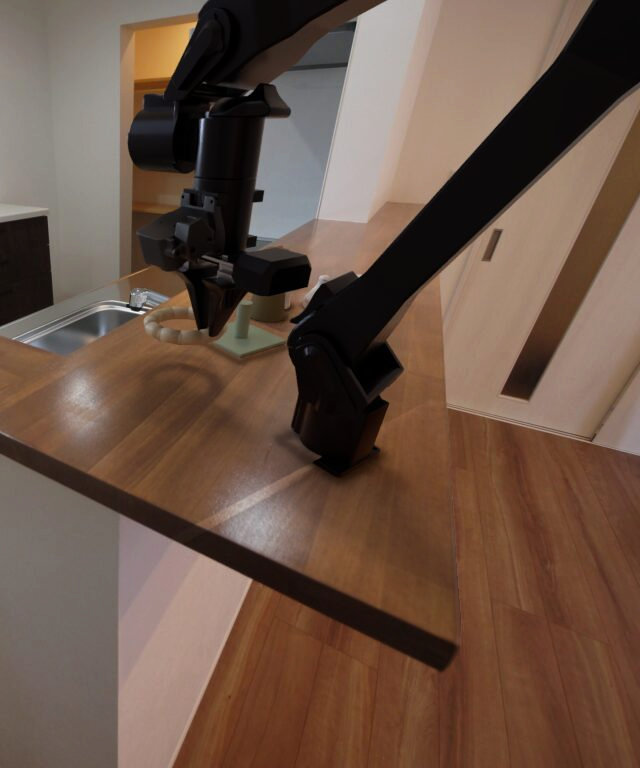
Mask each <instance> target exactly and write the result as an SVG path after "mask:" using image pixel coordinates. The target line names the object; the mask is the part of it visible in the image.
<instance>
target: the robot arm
mask: <svg viewBox="0 0 640 768" xmlns="http://www.w3.org/2000/svg"><path fill="white" fill-rule="evenodd" d="M387 1H388V0H206V2H205V3H204V4H203V5H202V6H201V8H200V10H199V11H198V13H197V16H196V17H197V21H196V24H195V27H194V30H193V32H192V34H191V36H190V38H189V40H188V42H187V45H186V46H185V48H184V51H183V53H182V55H181V57H180V59H179V61H178V63H177V65H176V67H175V69H174V72H173V73H172V75H171V76H170V79H169V81H168V83H167V86H166V88H165V89H164V92H163V94H161V93H145V94H144V95H143V98H142V106H143V107H142V109H141V110H139V111H138V112H137V113H136V114H135V116H134V117H133V119H132V122H131V125H130V127H129V131H128V132H127V136H126V137H127V140H126V141H127V143H126V144H127V150H128V155H129V157H130V160H131V162H132V163H133V165H135V167H136V168H137V169H139V170H141V171H144V172H155V173H169V174H182V175H188V174H190V173H193V181H192V187H185V188H183V189H182V193H180V200H179V206H178V208H176V209H173V210H171V211H168V212H165V213H163V214H162V215H160V216H158V217H157V218H154V219H153V220H151V221H149V222H148V223H146V224H144V225H142V226H141V227H139V228H138V229H137V230H136V236H137V239H138V242H139V246H140V249H141V254H142V257H143V260H144V263H145V264H146V265H148V266H151V265H152V266H155V267H158V268H160V269H161V271H163V272H167V273H171V272H173V273H175V275H177V276H178V277H179V278H180V279H181V281H183V282H184V285H185V287H186V290H187V293H188V296H189V301H190V306H191V307H192V309H193V313H194V317H195V320H194V321H195V325H196V330H202V329H206V328H208V333H209V337H216V336H218V335H219V333H220V332H221V330H222V329H223V327H224V326H225V324H227V323H228V321H229V320H230V318H231V317H232V315H233V313H234V312H235V311H236V310H237V306H238V305H239V303H240V302H241V300H244V298H245V297H246V296H247V294H248V293H249V294H251V295H253V294H255V295H258V296H267V297H269V296H273V295H277V294H281V293H286V292H290V291H292V292H294V291H297V290H302V289H307V288H309V283H310V279H311V274H312V270H313V268H312V263H311V262H310V261H311V260H310V258H309V257H308V254H305V253H299V252H297V251H296V252H295V251H292V250H290V251H288V250H289V249H288V250H284V249H280V248H271V249H265V250H263V249H259V250H254V251H253V250H252V251H247V249H252V248H256V247H257V242H258V235H253V234H250V228H251V222H252V216H253V215H252V214H253V206H254V203H255V204H257V203H263V202H264V196H265V189H257V188H256V186H257V179H258V178H257V177H258V172H259V166H260V157H261V151H262V145H263V138H264V131H265V130H264V129H265V123H266V120H273V119H274V120H275V119H276V120H277V119H279V120H280V119H288V118H289V117H290V116H291V115H292V109H291V107H290V106H289V105H288V104H287V103H286V101H285V100H283V98H282V97H281V96H280V94H279V92H278V89H277V86H276V85H275V84H272V83H273V81H275V80H276V79H278V78H279V77H280V76H282V75H283V74H284V73H286V72H287V71H288V70H290V69H291V68H293V67H294V66H295V65H296V64H298V63H299V62H300V61H301V60H302V59H303V57H304V56H305V55H306V54H307V53H308V52H309V51H310V50H311V48H313V46H314V45H315V44H316V43H317V42H318V41H319V40H321V39H322V38H323V37H325V36H326V35H328V34H329V33H330V32H331V31H333V30H334V29H336V28H338V27H340V26H342V25H344V24H346V23H348V22H350V21H351V20H353V19H355V18H357V17H359V16H361V15H363V14H365V13H367V12H369V11H370V10H372V9H374V8H376V7H378V6H379V5H380V6H381V4H384V3H386V2H387ZM638 90H640V0H591V2H590V4H589V5H588V7H587V9H586V11H585V12H584V14H583V15H582V17H581V19H580V21H579V22H578V23H577V25H576V27H575V28H574V30H573V32H572V33H571V35H570V36H569V38H568V40H567V41H566V42H565V45H564V46H563V48H562V49H561V51H560V53H558V55H557V57H556V58H555V59H554V61H553V62H552V63H551V64H550V66H549V67H548V68H547V69H546V70H545V72H543V74H542V75H541V76H540V77H539V78H538V79H537V80H536V82H535V83H534V84H533V85H532V86H531V87H530V88H529V89H528V90H527V91H526V93H525V94H524V95H523V96H522V97H521V98H520V99H519V101H518V102H516V104H514V106H513V107H512V108H511V109H510V110H509V112H508V113H507V114H506V115H505V116H504V117H503V118H502V119H501V121H500V122H498V124H497V125H496V126H495V127H494V128H493V129H492V130H491V132H490V133H489V134H488V135H487V136H486V137H485V138H484V139H483V141H481V143H480V144H479V145H478V146H477V147H476V148H475V149H474V150H473V152H472V153H470V155H469V156H468V157H467V158H466V159H465V161H463V163H462V164H461V165H460V166H459V167H458V168H457V170H455V172H454V173H453V174H452V175H451V176H450V177H449V179H447V181H446V182H445V183H444V184H443V185H442V186H441V187H440V188H439V190H437V191H436V193H435V194H433V196H432V197H431V198H430V200H429V201H428V202H426V204H425V205H424V206H423V207H422V208H421V210H420V211H419V212H418V213H417V214H416V215H415V216H414V217H413V219H412V220H411V221H410V222H409V223H408V224H407V225H406V226H405V228H404V229H402V231H401V232H400V233H399V234H398V235H397V236H396V237H395V238H394V239H393V241H392V242H391V243H390V244H389V246H387V247H386V249H385V250H384V251H383V252H382V253H381V254H380V255H379V256H378V258H377V259H376V260H375V261H374V262H373V263H372V264H371V265H370V266H369V267H368V269H367V270H366V271H364V273H362V274H363V275H361V276H360V277H358V276H357V275H356V273H355V272H354V270H351V271H348V272H346V273H343V274H342V275H339V276H337V277H334V278H332V279H330V280H329V281H328V282H325V283H323V284H321V285H320V286H319V288H318V289H317V290H316V292H315V293H314V295H313V296H312V298H311V300H310V302H309V303H308V305H307V307H306V308H305V307H304V309H303V310H302V311H301V312H300V313H299V314H298V315H296V316H294V317H292V318H290V319H289V323H290V324H293V325H295V326H294V327H293V328H292V329H291V330H290V332H289V333H288V336H287V339H286V343H285V344H286V347H287V350H288V356H289V359H290V362H291V363H292V365H293V367H294V372H295V379H296V386H297V393H298V394H297V399H296V402H295V407H294V410H293V413H292V419H291V423H290V428H291V429H293V433H296V434H297V435H298V437H299V440H300V442H301V444H302V445H303V446H304V447H305V448H306V449H307V450H308V451H310V452H312V453H313V454H315V455H317V456H319V457H318V458H316V459H315V460H313V461H312V462H313V463H315V464H316V465H318V466H319V467H320V468H322V469H323V470H326V471H327V472H328V473H330V474H331V475H333V476H335V477H337V478H338V477H339V478H340V477H343V476H345V475H347V474H348V473H350V472H351V471H353V470H355V469H357V468H358V467H360V466H362V465H364V464H365V463H367V462H369V461H370V460H372V459H374V458H375V457H377V456H379V454H380V453H381V448H380V447H378V446H377V445H375V443H376V440H377V438H378V435H379V434H380V430H381V427H382V425H383V422H384V419H385V417H386V414H387V411H388V408H389V406H390V402H389V401H388V400H385V399H384V398H382V396H381V394H382V393H383V392H384V391H385V390H386V389H387V388H389V387H390V386H391V385H392V384H393V383H394V382H395V381H396V380H397V379H398V378H399V377H400V376H401V375H402V374H403V373H404V371H405V367H404V366H403V364H402V363H401V361H400V359H399V358H398V356H397V355H396V353H395V352H394V350H393V349H392V347H391V345H390V344H389V342H388V339H389V337H390V336H391V335H392V334H393V333H394V331H395V330H396V328H397V327H398V326H399V325H400V323H401V321H402V320H403V318H404V317H405V315H406V313H407V312H408V311H409V309H410V307H411V306H412V304H413V303H414V301H415V299H416V298H417V297H418V295H419V294H420V293H421V292H422V291H423V290H424V289H425V288H426V287H428V286H429V284H430V283H432V282H433V281H434V280H435V279H436V278H437V277H438V276H440V274H441V273H442V272H443V271H444V270H445V269H447V267H449V265H451V264H452V263H453V262H454V261H455V260H456V259H457V258H458V257H459V256H460V255H461V254H463V252H465V251H466V249H467V248H468V247H470V246H471V245H472V244H473V243H474V242H475V241H476V240H477V239H478V238H479V237H480V236H482V234H483V233H485V231H487V230H488V229H489V228H490V227H491V226H492V225H493V224H494V223H496V221H497V220H498V219H499V218H500V217H502V215H503V214H505V213H506V212H507V211H508V210H509V209H511V207H512V206H514V204H515V203H516V202H518V200H520V199H521V198H522V197H523V196H524V195H525V194H526V193H527V192H528V191H529V190H530V189H531V188H532V187H533V186H534V185H536V184H537V183H538V182H539V181H540V180H541V179H542V178H543V177H544V176H545V175H546V174H547V173H548V172H549V171H551V169H552V168H554V167H555V166H556V165H557V164H558V163H559V162H560V161H561V160H562V159H563V158H564V157H566V156H567V154H568V153H570V151H571V150H573V149H574V147H576V146H577V145H578V144H579V143H580V142H581V141H582V140H583V139H584V138H585V137H586V136H588V135H589V133H591V132H592V131H593V130H594V129H595V128H596V127H597V126H598V125H599V124H600V123H601V122H602V121H603V120H604V119H606V117H607V116H609V115H610V114H611V113H612V112H613V111H614V110H615V109H616V108H617V107H618V106H619V105H620V104H621V103H623V102H624V101H625V100H627V99H628V98H629V97H630V96H631V95H633V94H634V93H636V92H637V91H638ZM250 91H252V92H250ZM249 92H250V93H249ZM247 93H249V94H248V95H247Z"/></svg>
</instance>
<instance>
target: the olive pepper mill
mask: <svg viewBox="0 0 640 768" xmlns="http://www.w3.org/2000/svg"><path fill="white" fill-rule="evenodd" d="M271 248H280V249H284V250H288V251H291V250H290V249H289V248H285V247H283V248H282V247H277V246H267V247H264V248H262V250H265V249H271ZM250 301H251V302H253V306H252V312H251V318H250V319H253V320H256V321H260V322H266V323H267V322H269V323H274V322H280V321H282V320H284V318H285V309H284V308H285V293H281V294H277V295H273V296H269V297H267V296H258V295H255V294H251V297H250Z"/></svg>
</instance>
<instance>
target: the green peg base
mask: <svg viewBox="0 0 640 768" xmlns="http://www.w3.org/2000/svg"><path fill="white" fill-rule="evenodd" d="M252 306H253V302H251V300H248V299H242V300H241V302H240V303H239V305H238V306H237V308H236V312H235V313H236V314H235V320H234V321H231V322H227V323H226V324H227V326H228V328H227V331H226V332H225V333H224V334H223V336H222V337H221V338H220V339H219V340H217V341H213V342H210V343H211V344H213V345H215V346H217V347H219V348H221V349H222V350H224V351H226V352H228V353H230V354H232V355H234V356H236V357H238V358H239V359H240V358H244V357H247V356H249V355H253V354H255V353H256V354H257V353H260V352H262V351H265V350H268V349H273V348H275V347H278V346H281V345H284V344H286V343H287V339H285V338H283V337H280V336H278V335H276V334H274V333H271V332H269V331H267V330H264V329H262V328H260V327H257V326H255V325H253V324H251V319H252V318H251V312H252Z"/></svg>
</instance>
